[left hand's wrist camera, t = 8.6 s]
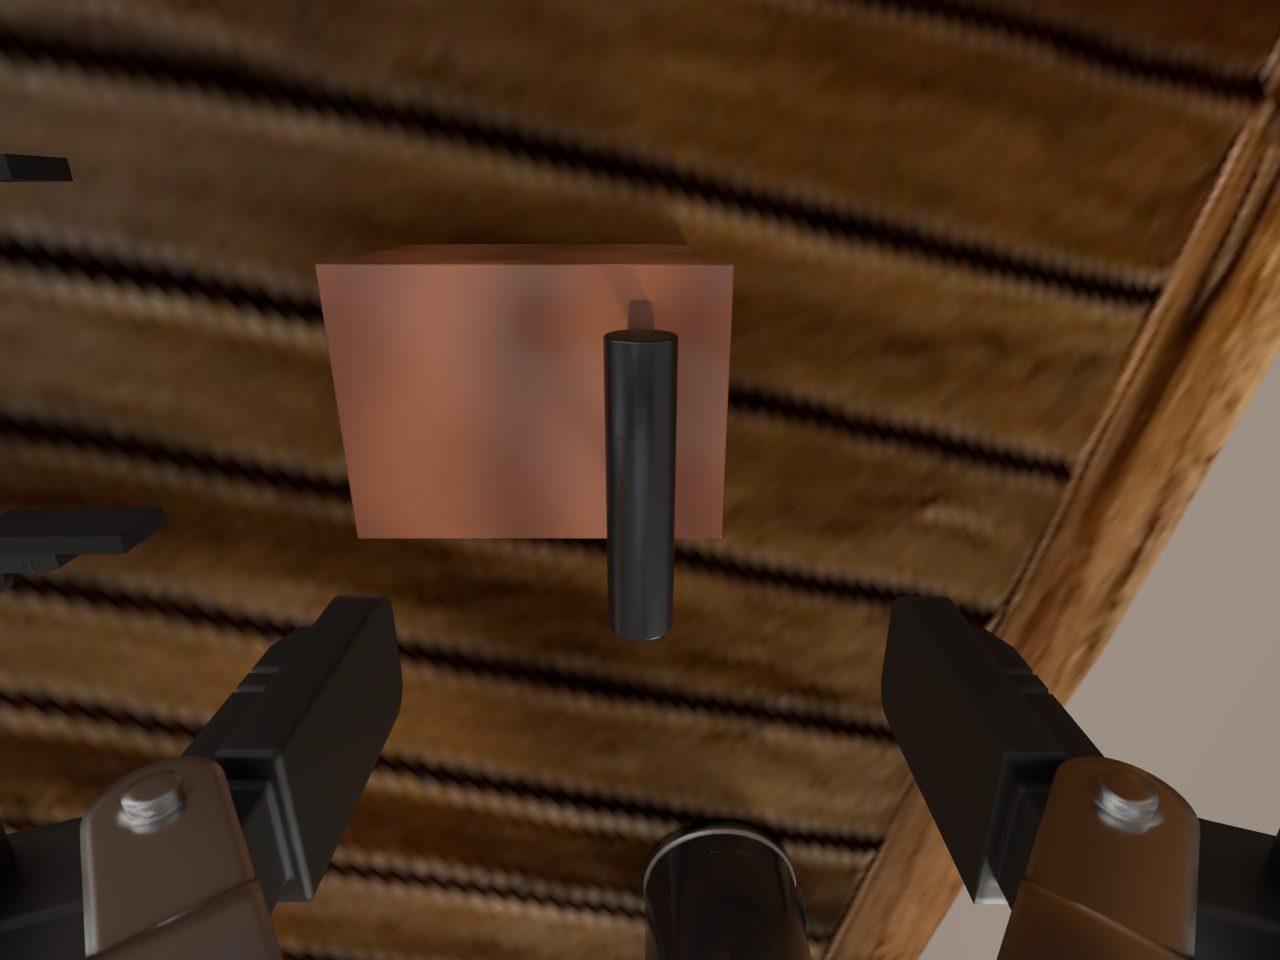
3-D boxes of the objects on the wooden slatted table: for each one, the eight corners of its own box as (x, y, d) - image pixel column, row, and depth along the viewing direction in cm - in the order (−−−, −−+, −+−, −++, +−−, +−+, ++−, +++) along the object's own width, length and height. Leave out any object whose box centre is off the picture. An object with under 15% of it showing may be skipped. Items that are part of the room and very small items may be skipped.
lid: (729, 260, 24) (780, 296, 15) (718, 523, 27) (754, 673, 18) (330, 260, 24) (157, 296, 15) (369, 523, 27) (246, 673, 18)
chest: (688, 244, 32) (706, 260, 24) (684, 446, 35) (697, 523, 27) (411, 243, 32) (331, 260, 24) (433, 446, 35) (370, 523, 27)
